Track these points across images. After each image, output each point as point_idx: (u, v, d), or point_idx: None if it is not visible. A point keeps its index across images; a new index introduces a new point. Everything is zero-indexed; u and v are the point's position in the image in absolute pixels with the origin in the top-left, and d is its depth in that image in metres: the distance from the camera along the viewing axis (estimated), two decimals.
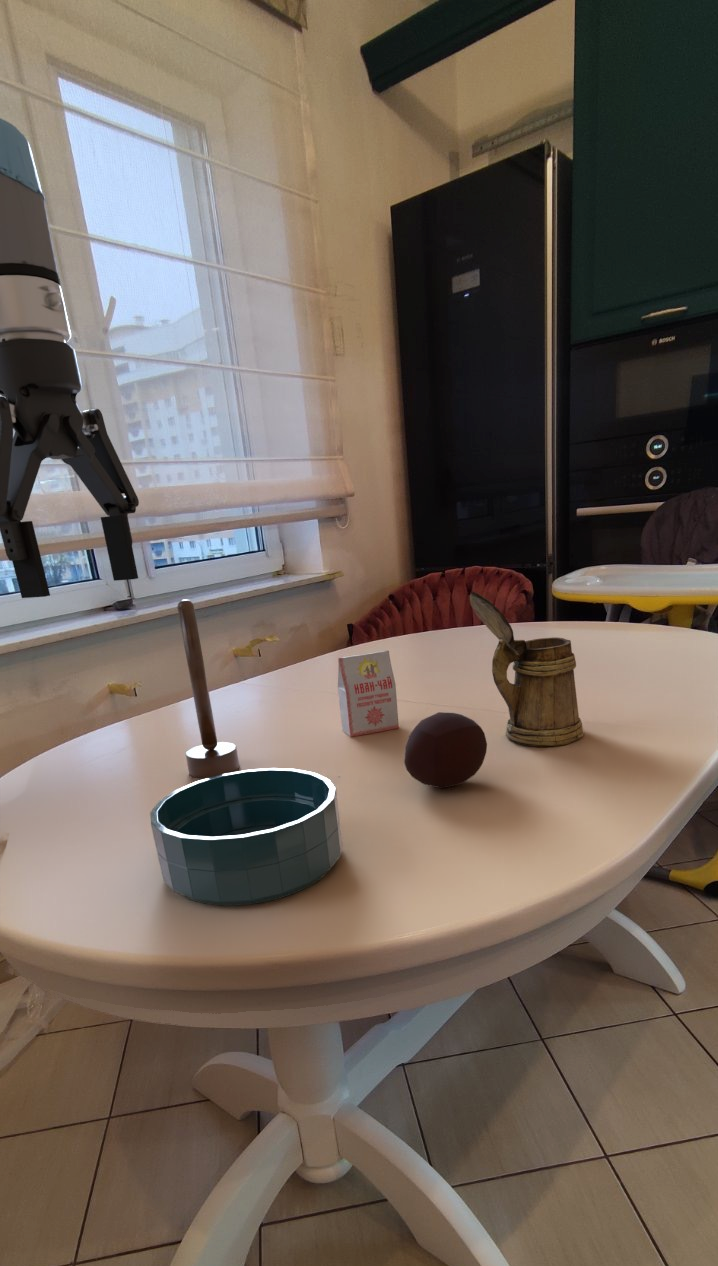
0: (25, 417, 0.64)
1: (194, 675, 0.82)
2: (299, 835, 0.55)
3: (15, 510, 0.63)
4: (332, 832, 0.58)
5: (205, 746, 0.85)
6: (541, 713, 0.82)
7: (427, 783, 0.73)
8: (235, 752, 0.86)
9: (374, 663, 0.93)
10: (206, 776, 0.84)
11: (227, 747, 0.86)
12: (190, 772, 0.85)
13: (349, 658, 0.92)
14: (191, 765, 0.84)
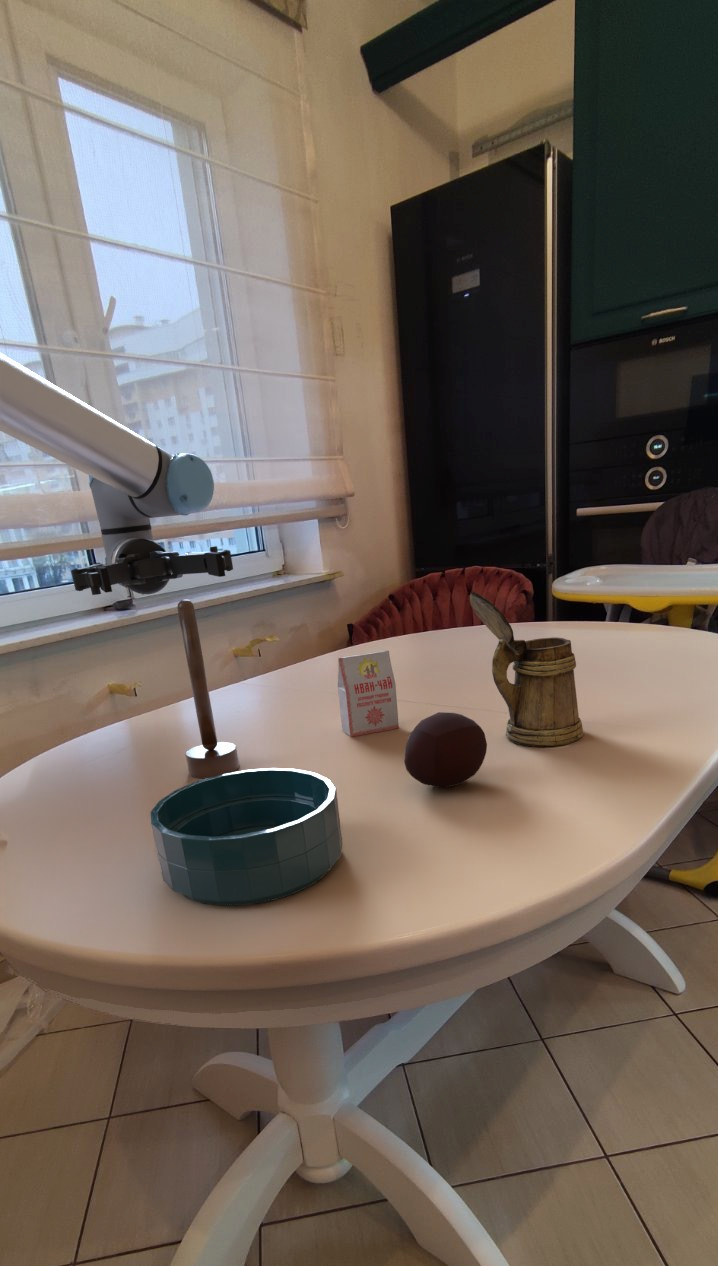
0: None
1: (194, 675, 0.82)
2: (299, 835, 0.55)
3: None
4: (332, 832, 0.58)
5: (205, 746, 0.85)
6: (541, 713, 0.82)
7: (427, 783, 0.73)
8: (235, 752, 0.86)
9: (374, 663, 0.93)
10: (206, 776, 0.84)
11: (227, 747, 0.86)
12: (190, 772, 0.85)
13: (349, 658, 0.92)
14: (191, 765, 0.84)
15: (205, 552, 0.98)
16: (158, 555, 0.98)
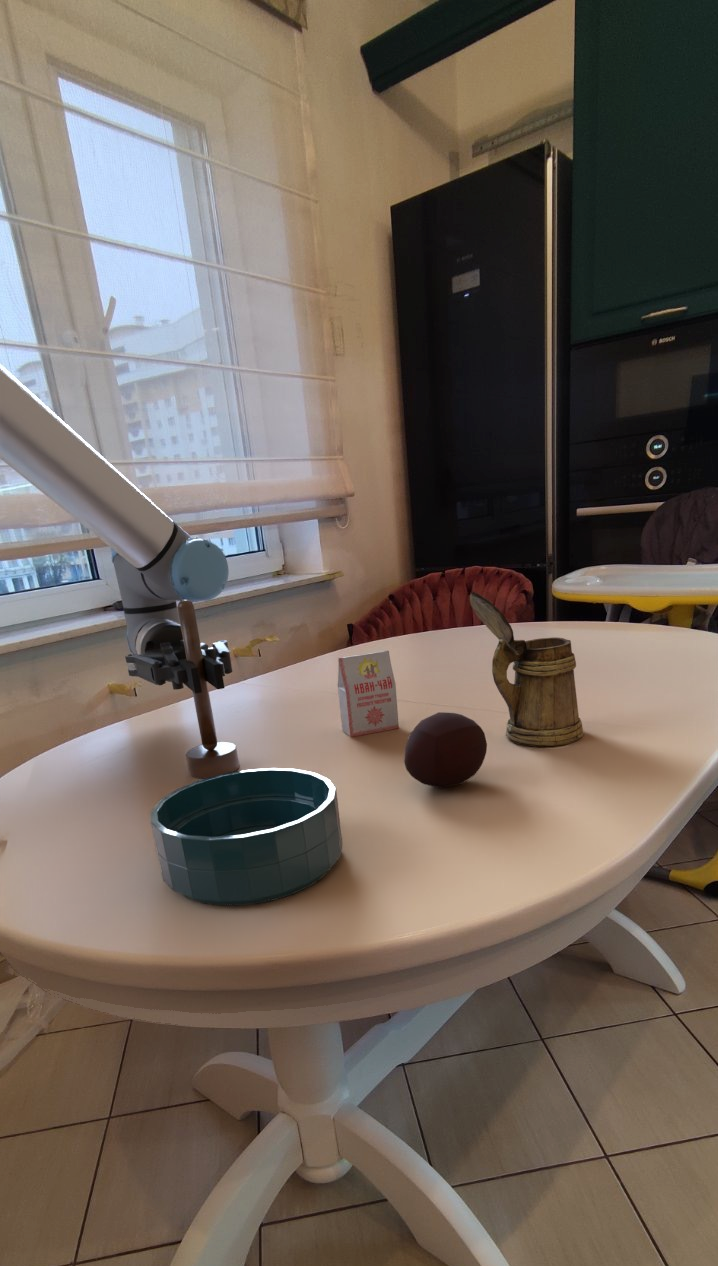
0: None
1: None
2: (299, 835, 0.55)
3: None
4: (332, 832, 0.58)
5: (205, 746, 0.85)
6: (541, 713, 0.82)
7: (427, 783, 0.73)
8: (235, 752, 0.86)
9: (374, 663, 0.93)
10: (206, 776, 0.84)
11: (227, 747, 0.86)
12: (190, 772, 0.85)
13: (349, 658, 0.92)
14: (191, 765, 0.84)
15: (216, 648, 0.88)
16: (183, 645, 0.91)
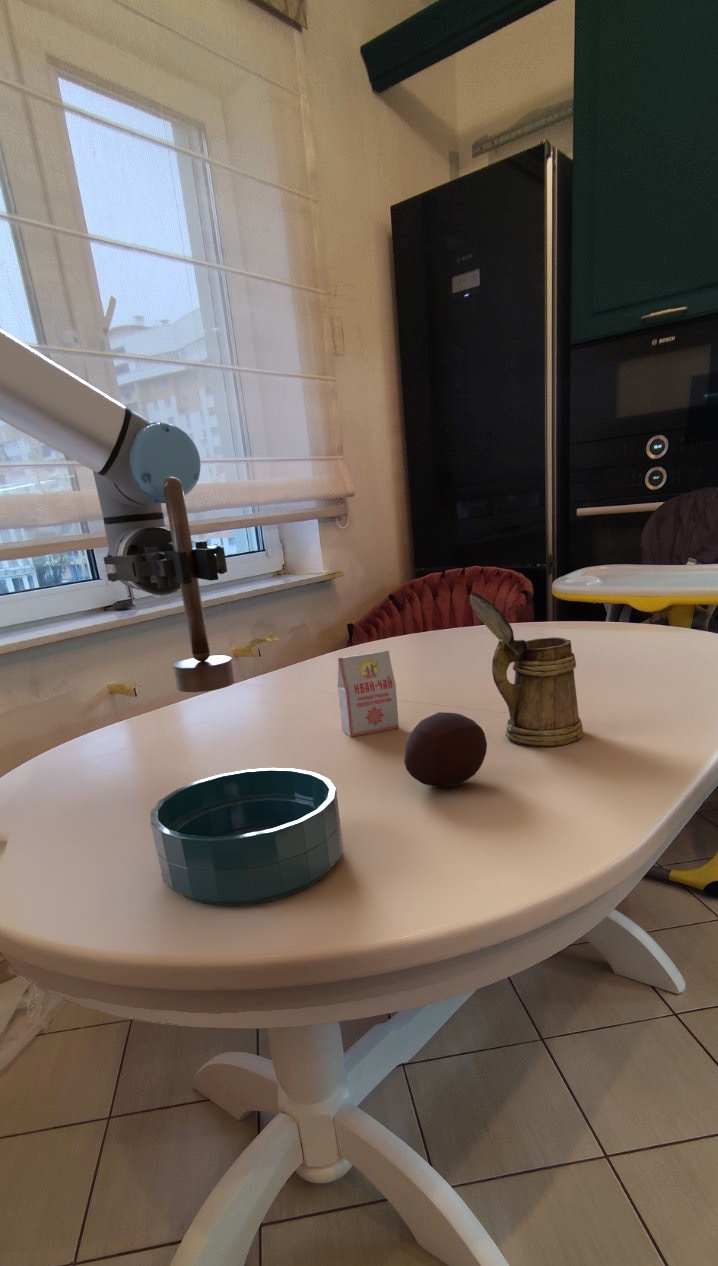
0: None
1: None
2: (299, 835, 0.55)
3: None
4: (332, 832, 0.58)
5: (196, 656, 0.73)
6: (541, 713, 0.82)
7: (427, 783, 0.73)
8: (231, 664, 0.74)
9: (374, 663, 0.93)
10: (197, 690, 0.72)
11: (221, 658, 0.75)
12: (178, 686, 0.74)
13: (349, 658, 0.92)
14: (180, 677, 0.73)
15: (209, 547, 0.77)
16: (170, 548, 0.79)
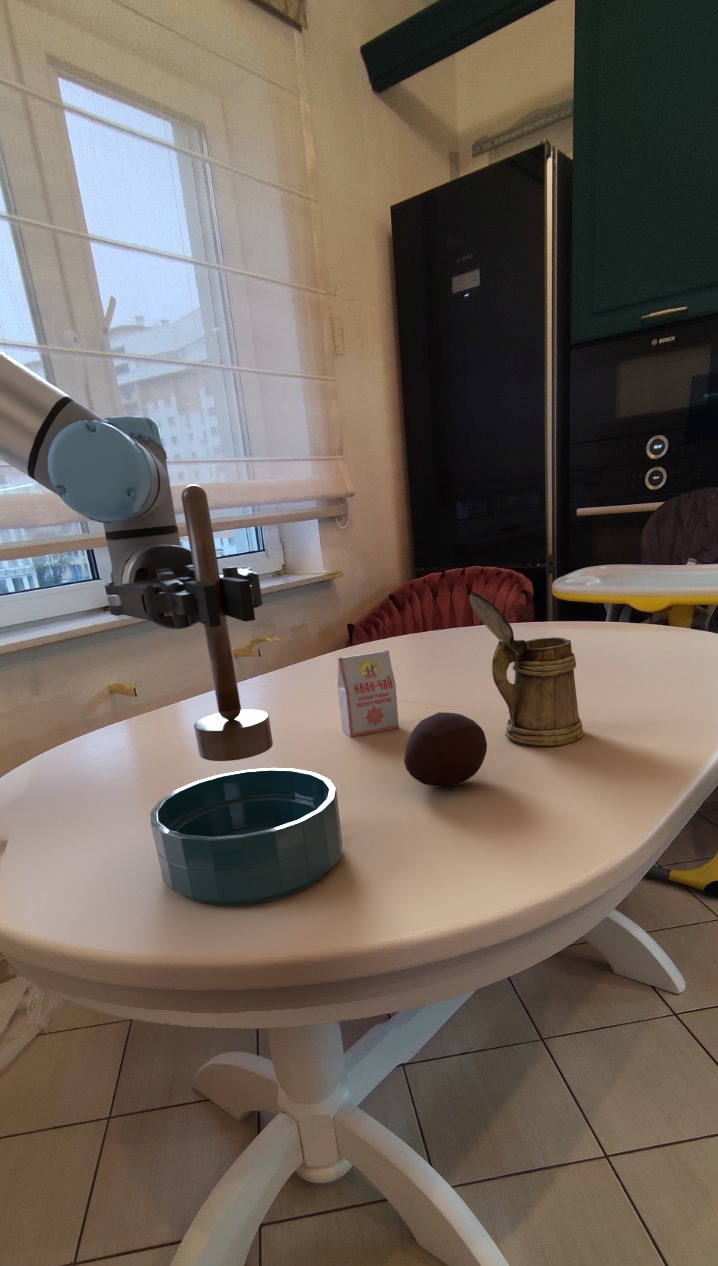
0: None
1: None
2: (299, 835, 0.55)
3: None
4: (332, 832, 0.58)
5: (223, 714, 0.57)
6: (541, 713, 0.82)
7: (427, 783, 0.73)
8: (267, 723, 0.58)
9: (374, 663, 0.93)
10: (225, 758, 0.56)
11: (255, 715, 0.59)
12: (201, 753, 0.57)
13: (349, 658, 0.92)
14: (203, 742, 0.57)
15: (238, 572, 0.61)
16: (189, 572, 0.63)
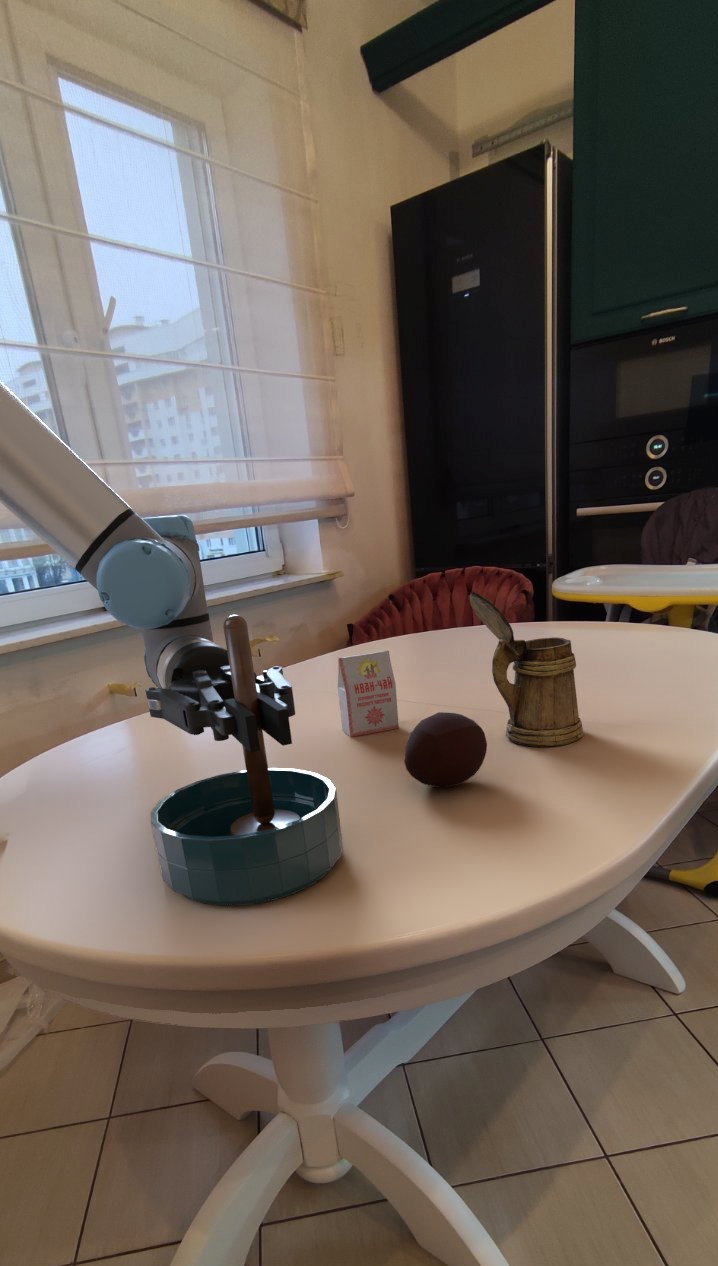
0: None
1: None
2: (299, 835, 0.55)
3: None
4: (332, 832, 0.58)
5: (258, 819, 0.61)
6: (541, 713, 0.82)
7: (427, 783, 0.73)
8: None
9: (374, 663, 0.93)
10: None
11: (287, 818, 0.62)
12: None
13: (349, 658, 0.92)
14: None
15: (271, 680, 0.64)
16: (224, 675, 0.67)
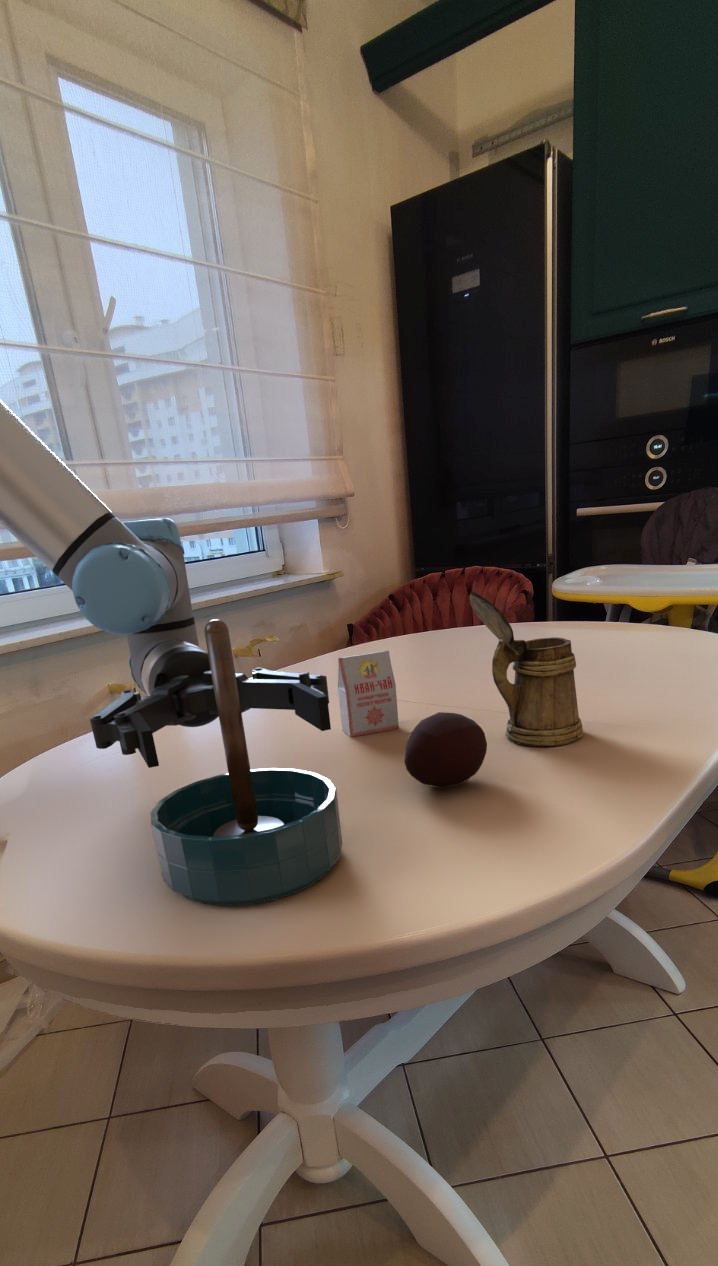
0: None
1: (227, 728, 0.57)
2: (299, 835, 0.55)
3: None
4: (332, 832, 0.58)
5: (241, 826, 0.60)
6: (541, 713, 0.82)
7: (427, 783, 0.73)
8: None
9: (374, 663, 0.93)
10: None
11: (271, 825, 0.61)
12: None
13: (349, 658, 0.92)
14: None
15: (286, 675, 0.66)
16: None
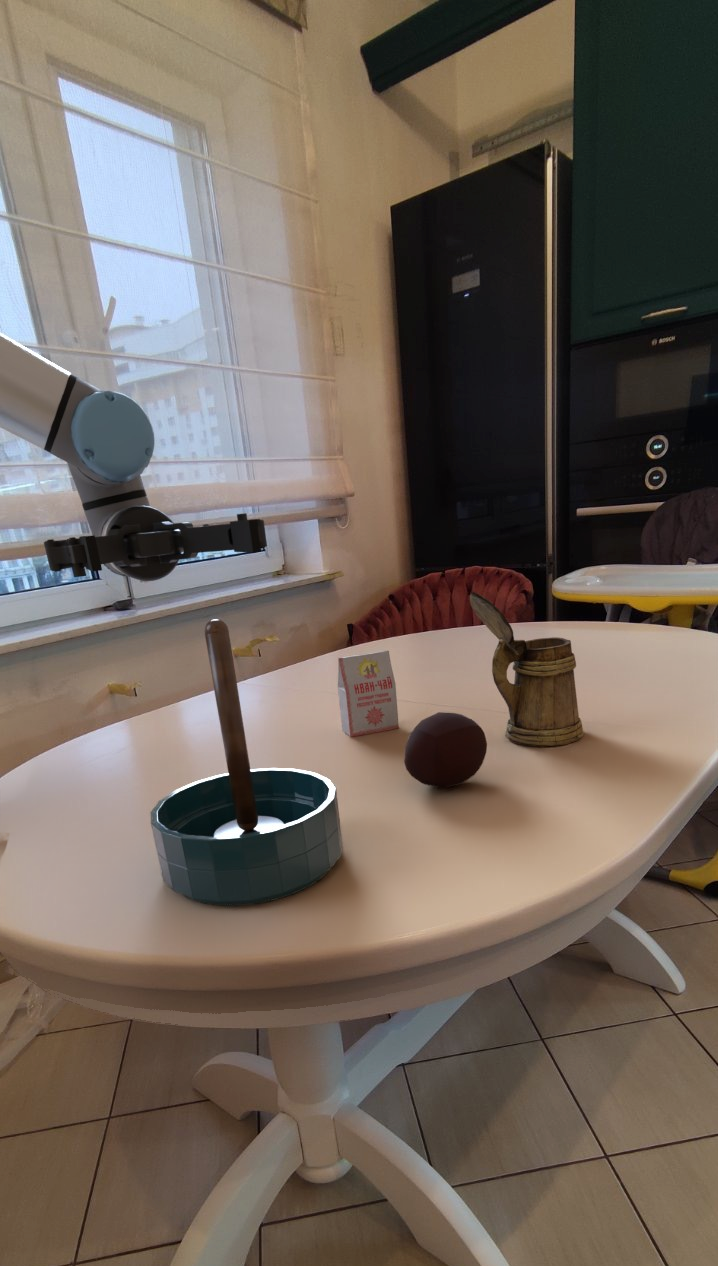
0: None
1: (227, 728, 0.57)
2: (299, 835, 0.55)
3: None
4: (332, 832, 0.58)
5: (241, 826, 0.60)
6: (541, 713, 0.82)
7: (427, 783, 0.73)
8: None
9: (374, 663, 0.93)
10: None
11: (271, 825, 0.61)
12: None
13: (349, 658, 0.92)
14: None
15: None
16: (165, 527, 0.72)
